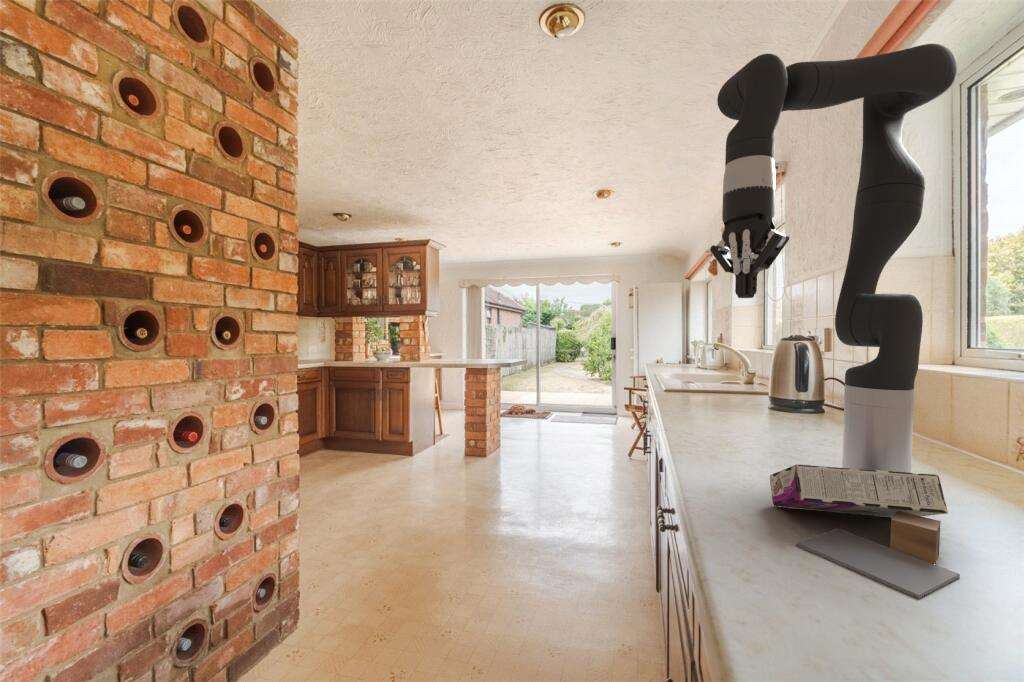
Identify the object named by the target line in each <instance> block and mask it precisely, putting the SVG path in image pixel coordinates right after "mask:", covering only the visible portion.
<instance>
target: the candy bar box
mask: <svg viewBox="0 0 1024 682" xmlns="http://www.w3.org/2000/svg"><path fill="white" fill-rule="evenodd" d="M769 484H770V492H771V500H772V505H774V506H773V507H779V506H781V507H783V508H789V507H790V508H791V509H792V508H793V509H800V508H801V510H810V509H811V510H812V511H821V510H822V512H833V513H834V512H835V513H845V514H854V515H865V516H875V517H886V518H887V517H888V518H892V517H893V516H894V514H895V513H896V511H901V512H905V513H909V514H913V515H917V516H921V517H926V516H927V517H928V516H935V515H945V514H946V515H947V514H949V511H948V509H947V508H948V507H947V503H946V500H945V497H944V496H945V495H944V491H943V487H942V484H941V479H940V475H938V474H931V473H919V472H918V473H916V472H911V473H907V472H893V471H878V470H863V469H849V468H842V467H836V466H835V467H834V466H833V467H832V466H825V465H824V466H820V465H808V464H794V465H792V466H790V467H787V468H784V469H783V470H780V471H777V472H775V473H772V474H770V475H769ZM790 508H789V509H790Z"/></svg>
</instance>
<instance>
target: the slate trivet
mask: <svg viewBox="0 0 1024 682" xmlns="http://www.w3.org/2000/svg"><path fill="white" fill-rule="evenodd" d="M795 543H796V546H797V547H799V548H801V549H804V550H805V551H808V552H811V553H813V554H815V555H818V556H819V557H821V558H824V559H826V560H828V561H831V562H833V563H835V564H838V565H840V566H842V567H845V568H847V569H850V570H852V571H853V572H856V573H859V574H862V575H863V576H866V577H868V578H869V579H870V578H871V579H872V580H874V581H877V582H879V583H882V584H884V585H886V586H888V587H891V588H893V589H895V590H898V591H900V592H902V593H904V594H907V595H909V596H911V595H912V596H911V597H913V596H915V597H914V598H916V597H917V598H916V599H918V598H919V599H921V598H923V597H925V596H927V595H929V594H931V593H933V592H935V591H936V589H937V590H938V588H939V589H941V588H943V587H944V586H946V585H948V584H950V583H952V582H954V581H956V580H958V579H960V573H958V572H955V571H953V570H950V569H947V568H944V567H942V566H939V565H937V564H936V565H934V564H932V563H929V562H926V561H924V560H921V559H918V558H916V557H913V556H910V555H907V554H905V553H902V552H899V551H897V550H894V549H891V548H890V546H889V547H888V546H886V545H883V544H880V543H878V542H875V541H872V540H869V539H867V538H864V537H861V536H858V535H856V534H853V533H851V532H848V531H845V530H843V529H840V528H836V529H833V530H829V531H827V532H825V533H821V534H818V535H814V536H811V537H808V538H804V539H803V540H802V539H801V540H800V541H796V542H795ZM940 587H941V588H940ZM934 590H935V591H934ZM932 591H933V592H932ZM930 592H931V593H930ZM928 593H929V594H928ZM926 594H927V595H926ZM924 595H925V596H924ZM922 596H923V597H922ZM920 597H921V598H920Z"/></svg>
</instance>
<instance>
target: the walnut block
mask: <svg viewBox="0 0 1024 682" xmlns="http://www.w3.org/2000/svg"><path fill="white" fill-rule="evenodd" d="M890 520H891V521H890V542H889V543H890V545H889V548H891V549H894V550H897V551H899V552H902V553H905V554H907V555H910V556H913V557H916V558H918V559H921V560H924V561H926V562H929V563H932V564H936V565H937V562H936V561H938V559H939V556H940V550H941V549H940V545H941V523H942V522H941V520H939V519H934V518H929V517H926V516H917V515H913V514H909V513H905V512H901V511H896V513H895V514H894V516H893V517H891V519H890Z"/></svg>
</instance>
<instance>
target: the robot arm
mask: <svg viewBox="0 0 1024 682" xmlns="http://www.w3.org/2000/svg"><path fill="white" fill-rule="evenodd" d="M958 66H959V65H958V61H957V57H956V55H955V54H954V53H953V51H952V50H951V49H950V48H948V47H947V46H945V45H943V44H941V43H924V44H920V45H917V46H912V47H908V48H906V49H901V50H896V51H892V52H887V53H881V54H880V53H879V54H877V55H871V56H870V55H869V56H865V57H856V58H850V59H849V58H848V59H842V60H841V59H840V60H823V61H822V60H819V61H818V60H817V61H815V60H814V61H800V62H795V63H792V64H789V65H787V66H786V65H785V63H784V61H783V60H782V59H781V58H780V57H779V56H778V55H776V54H772V53H762V54H759V55H758V56H755V57H754V58H752V59H751V60H750V61H748V62H747V63H746V64H745V65H744V66H743V67H741V68H740V69H739V70H738V71H737V72H736V73H735V74H733V75H732V76H731V77H729V79H727V80H726V81H725V83H723V85H722V86H721V88H720V89H719V91H718V95H717V100H716V101H717V102H716V103H717V107H718V109H719V111H720V113H721V114H722V115H724V116H725V117H727V118H728V119H731V120H734V121H737V122H736V123H735V125H734V126H733V127H732V129H731V130H730V131H729V132H728V134H727V136H726V139H725V140H726V141H725V161H724V162H725V163H724V164H725V165H724V174H723V181H722V183H723V184H722V212H721V213H722V218H721V220H722V223H723V225H724V229H723V231H722V234H721V240H719V242H718V243H717V245H711V246H710V249H709V250H710V252H711V254H712V256H713V257H714V258H715V260H716V261H717V262H718V264H719V265H720V267H721V268H722V270H723V271H724V272H725V273H730V274H734V277H735V291H734V292H735V295H737V298H738V299H753V298H754V297H755V295H756V294H757V290H758V289H757V288H758V274H759V273H760V272H762V271H764V270H769V269H770V267H771V266H772V264H773V263H774V262H775V260H776V259H777V257H778V256H779V254H780V253H781V252H782V250H783V249H784V248H785V246H786V245H787V243H788V242H789V241H790V235H788V234H785V233H784V234H783V233H780V232H779V231H778V230H776V225H775V223H774V222H773V221H774V220H773V218H774V216H775V203H776V202H775V201H776V167H775V146H776V145H775V141H776V140H775V134H776V129H777V126H778V124H779V121H780V118H781V114H782V112H787V111H789V112H790V111H792V112H793V111H807V110H808V111H809V110H810V111H811V110H822V109H826V108H831V107H834V106H839V105H843V104H846V103H850V102H853V101H855V100H856V101H857V100H860V99H863V100H862V147H861V159H860V168H859V177H858V183H857V189H856V196H855V202H854V203H855V204H854V210H853V223H852V232H851V238H850V240H851V241H850V246H849V252H848V258H847V263H846V268H845V272H844V274H843V275H844V277H843V280H842V284H841V289H840V292H839V295H838V296H839V297H838V300H837V304H836V309H835V316H834V325H835V326H834V327H835V329H834V330H835V333H836V336H837V338H838V340H839V341H840V342H841V343H842V344H844V345H846V346H849V347H851V346H852V347H867V348H868V347H869V348H878V353H877V355H876V357H875V358H873V360H871V361H868V362H866V363H865V364H864V363H863V364H862V365H861V364H860V365H856V366H852V367H849V368H847V369H846V371H845V373H844V374H845V375H844V392H843V393H844V397H843V404H844V405H843V409H844V410H843V430H842V431H843V432H842V457H841V459H842V460H841V461H842V462H841V465H842V466H841V468H849V469H863V470H878V471H893V472H907V473H912V461H913V459H912V458H913V454H912V453H913V436H914V435H913V433H914V431H913V430H914V402H915V401H914V399H915V398H914V397H915V382H916V376H917V373H918V371H919V362H920V361H919V360H920V351H921V342H922V341H921V340H922V334H923V322H924V321H923V319H924V318H923V309H922V306H921V302H920V301H919V300H918V298H917V296H915V295H913V294H912V293H910V292H882V293H876V292H877V291H876V290H877V288H878V287H877V286H878V283H879V280H880V278H881V275H882V272H883V270H884V268H885V266H886V265H887V263H888V262H889V260H890V259H891V258H892V257H893V256H894V254H895V253H896V252H897V251H898V250H899V248H901V246H902V245H903V244H904V242H905V241H907V239H908V238H909V236H910V235H911V234H912V233H913V231H914V230H915V229H916V227H917V225H918V224H919V222H920V221H921V217H922V213H923V206H924V205H923V204H924V199H925V191H926V178H925V174H924V172H923V171H922V169H921V167H920V166H919V164H918V163H917V162H916V161H915V159H914V158H913V157H912V156H911V154H910V153H909V152H908V151H907V149H906V148H905V146H904V143H903V139H902V138H903V126H904V125H903V124H904V120H905V117H906V115H907V113H909V112H911V111H913V110H915V109H917V108H919V107H921V106H923V105H925V104H927V103H930V102H932V101H934V100H936V99H937V98H940V96H942V95H943V94H944V93H946V92H948V90H949V89H950V88H951V87H952V86H953V85H954V84H955V81H956V79H957V77H958V72H959V68H958Z"/></svg>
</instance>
